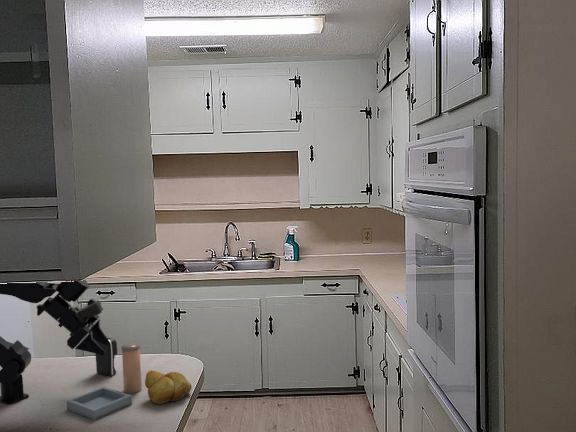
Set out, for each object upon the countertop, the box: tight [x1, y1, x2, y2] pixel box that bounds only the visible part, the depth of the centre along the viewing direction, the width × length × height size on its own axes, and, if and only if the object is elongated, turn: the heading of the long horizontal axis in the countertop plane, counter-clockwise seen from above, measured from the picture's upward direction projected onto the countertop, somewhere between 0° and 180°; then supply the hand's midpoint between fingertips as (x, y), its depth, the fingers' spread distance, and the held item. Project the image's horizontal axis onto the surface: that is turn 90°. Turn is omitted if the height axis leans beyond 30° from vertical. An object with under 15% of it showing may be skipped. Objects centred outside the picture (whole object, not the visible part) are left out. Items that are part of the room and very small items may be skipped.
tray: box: [66, 386, 133, 421], centre depth 159 cm, size 12×12×2 cm
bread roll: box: [144, 369, 193, 405], centre depth 163 cm, size 13×10×8 cm
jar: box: [121, 342, 143, 394], centre depth 170 cm, size 5×5×13 cm
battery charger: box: [94, 336, 118, 377], centre depth 184 cm, size 7×4×11 cm, turn 58°
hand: (106, 348), depth 168 cm, fingers open, 9 cm apart
